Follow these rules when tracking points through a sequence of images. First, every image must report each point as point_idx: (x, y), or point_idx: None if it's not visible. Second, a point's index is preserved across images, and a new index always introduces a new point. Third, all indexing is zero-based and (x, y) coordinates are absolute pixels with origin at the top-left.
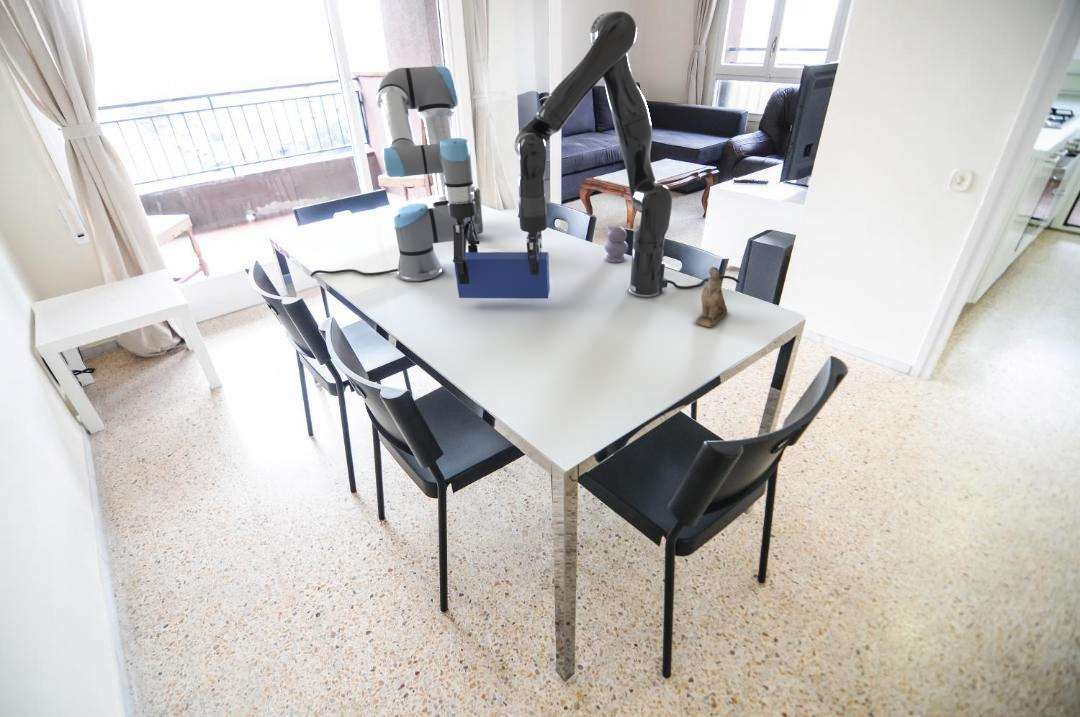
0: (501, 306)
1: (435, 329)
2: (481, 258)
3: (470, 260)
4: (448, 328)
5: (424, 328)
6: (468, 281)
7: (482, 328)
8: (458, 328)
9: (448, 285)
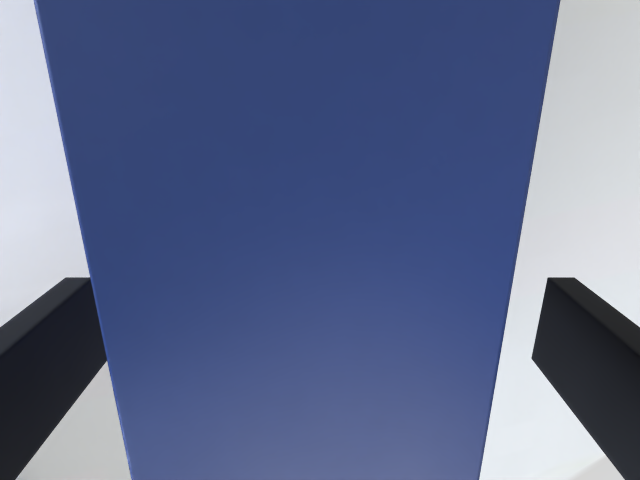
0: None
1: None
2: (472, 241)
3: (479, 408)
4: None
5: (546, 386)
6: (584, 288)
7: (593, 105)
8: (571, 237)
9: None
